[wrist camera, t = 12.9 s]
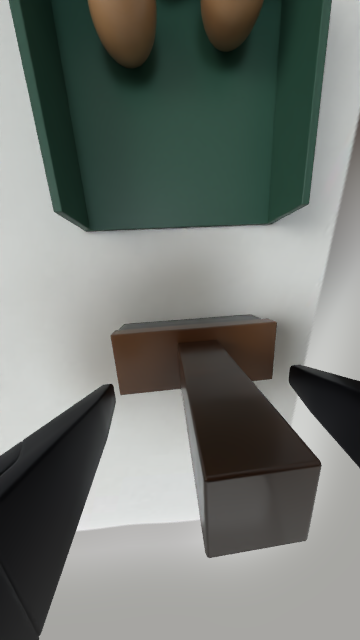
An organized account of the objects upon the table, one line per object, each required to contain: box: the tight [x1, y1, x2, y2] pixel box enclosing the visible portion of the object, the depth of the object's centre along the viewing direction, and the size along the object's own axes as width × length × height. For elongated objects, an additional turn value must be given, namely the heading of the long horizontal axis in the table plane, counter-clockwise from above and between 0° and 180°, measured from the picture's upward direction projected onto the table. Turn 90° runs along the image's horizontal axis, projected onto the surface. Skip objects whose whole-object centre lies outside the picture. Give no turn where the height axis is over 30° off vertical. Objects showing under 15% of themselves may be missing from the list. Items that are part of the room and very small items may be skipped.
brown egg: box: [87, 0, 157, 69], centre depth 7 cm, size 3×3×3 cm
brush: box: [111, 315, 321, 558], centre depth 8 cm, size 10×4×10 cm, turn 93°
